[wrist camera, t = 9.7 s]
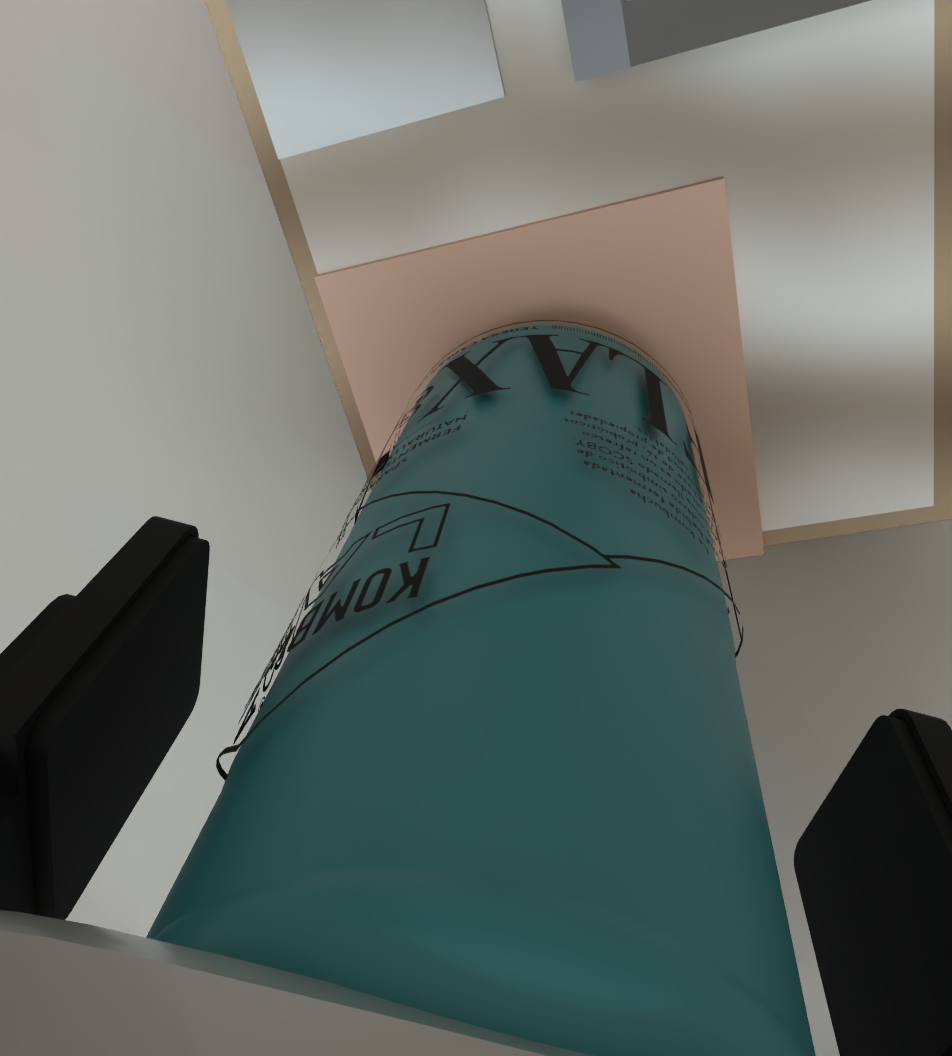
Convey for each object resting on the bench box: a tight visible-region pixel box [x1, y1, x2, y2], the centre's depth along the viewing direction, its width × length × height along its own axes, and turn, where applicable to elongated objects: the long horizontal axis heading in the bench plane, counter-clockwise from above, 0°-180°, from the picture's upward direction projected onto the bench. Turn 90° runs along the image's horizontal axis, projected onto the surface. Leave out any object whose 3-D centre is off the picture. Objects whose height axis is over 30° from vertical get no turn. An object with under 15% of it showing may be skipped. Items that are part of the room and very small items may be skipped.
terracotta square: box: [314, 176, 764, 561], centre depth 21 cm, size 9×9×1 cm
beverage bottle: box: [146, 320, 815, 1056], centre depth 12 cm, size 6×7×20 cm
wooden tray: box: [204, 0, 952, 546], centre depth 16 cm, size 20×14×4 cm
